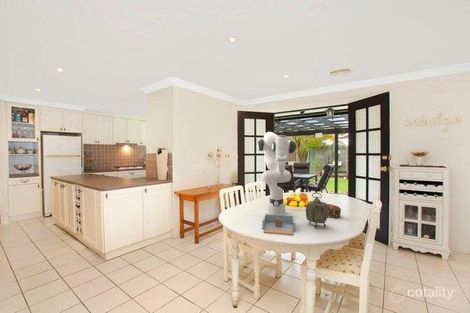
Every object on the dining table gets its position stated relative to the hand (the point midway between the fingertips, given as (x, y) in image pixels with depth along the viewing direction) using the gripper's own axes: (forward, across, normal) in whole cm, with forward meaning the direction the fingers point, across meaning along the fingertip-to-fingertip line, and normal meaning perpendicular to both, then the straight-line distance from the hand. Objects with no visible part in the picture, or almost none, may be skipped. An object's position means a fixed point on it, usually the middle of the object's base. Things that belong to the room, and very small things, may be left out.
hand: (281, 176), depth 159 cm
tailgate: (+36, +10, -2) cm, 37 cm away
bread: (+37, -39, +38) cm, 67 cm away
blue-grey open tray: (+37, +1, -2) cm, 37 cm away
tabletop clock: (+37, -8, +25) cm, 46 cm away
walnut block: (+36, +1, -2) cm, 36 cm away
